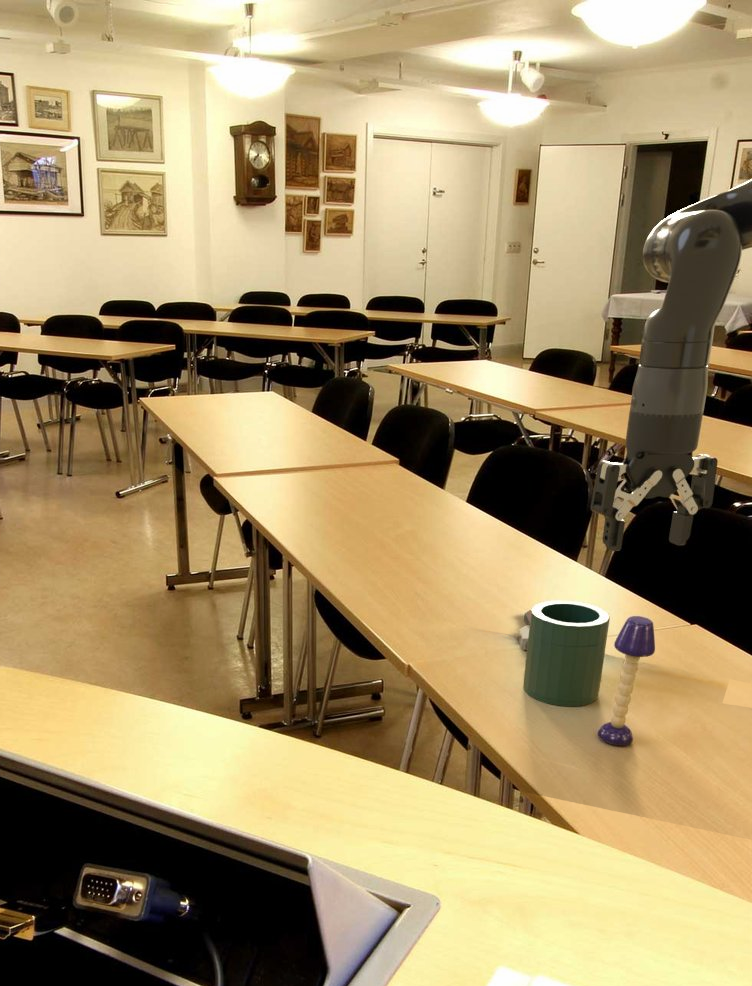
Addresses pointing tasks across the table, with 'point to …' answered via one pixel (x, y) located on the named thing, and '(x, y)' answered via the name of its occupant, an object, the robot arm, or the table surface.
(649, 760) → the table surface
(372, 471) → the table surface
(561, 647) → the green cylindrical cup
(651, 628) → the toy lamp
